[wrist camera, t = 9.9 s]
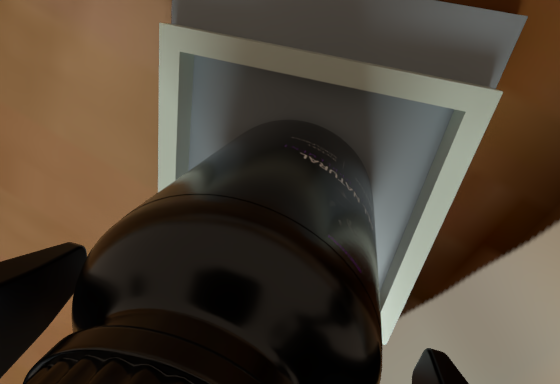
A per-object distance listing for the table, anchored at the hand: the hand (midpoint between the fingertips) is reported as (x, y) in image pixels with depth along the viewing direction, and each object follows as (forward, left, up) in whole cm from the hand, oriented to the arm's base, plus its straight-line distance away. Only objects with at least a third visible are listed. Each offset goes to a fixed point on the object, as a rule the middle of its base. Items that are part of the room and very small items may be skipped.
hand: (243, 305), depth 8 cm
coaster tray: (0, 0, -8) cm, 8 cm away
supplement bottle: (0, 0, -7) cm, 7 cm away
